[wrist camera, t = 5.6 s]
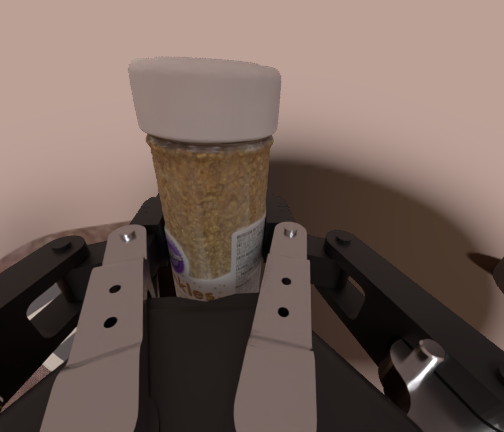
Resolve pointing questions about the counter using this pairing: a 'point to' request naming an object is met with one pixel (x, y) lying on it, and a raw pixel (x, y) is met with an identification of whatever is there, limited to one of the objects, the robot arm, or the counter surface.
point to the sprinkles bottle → (209, 165)
